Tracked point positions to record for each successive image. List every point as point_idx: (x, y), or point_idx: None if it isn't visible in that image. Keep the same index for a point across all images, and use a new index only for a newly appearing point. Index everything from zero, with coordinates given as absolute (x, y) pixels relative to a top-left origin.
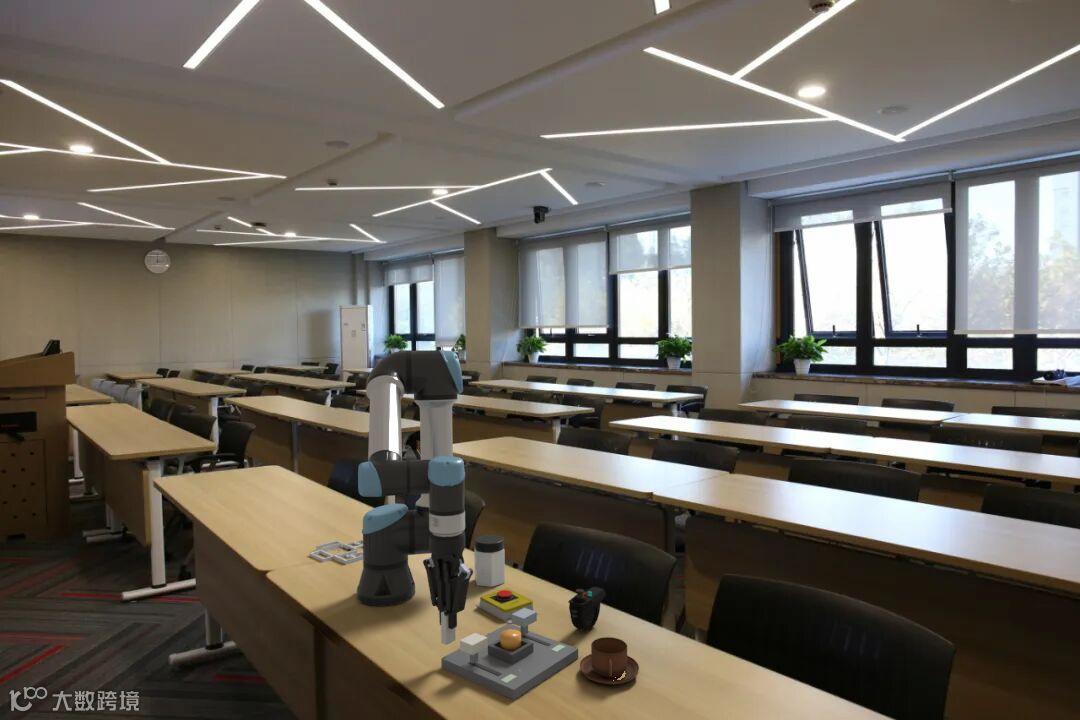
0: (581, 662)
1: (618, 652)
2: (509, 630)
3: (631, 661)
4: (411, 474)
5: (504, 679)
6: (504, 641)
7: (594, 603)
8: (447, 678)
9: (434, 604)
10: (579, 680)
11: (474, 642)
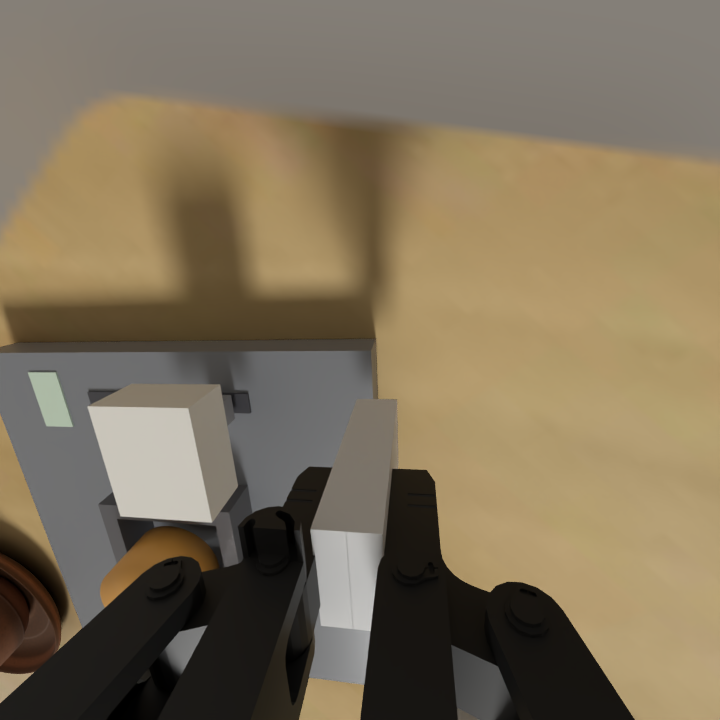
0: (36, 596)
1: None
2: None
3: None
4: None
5: (50, 383)
6: (142, 553)
7: None
8: (287, 293)
9: (507, 604)
10: (15, 533)
11: (111, 438)
